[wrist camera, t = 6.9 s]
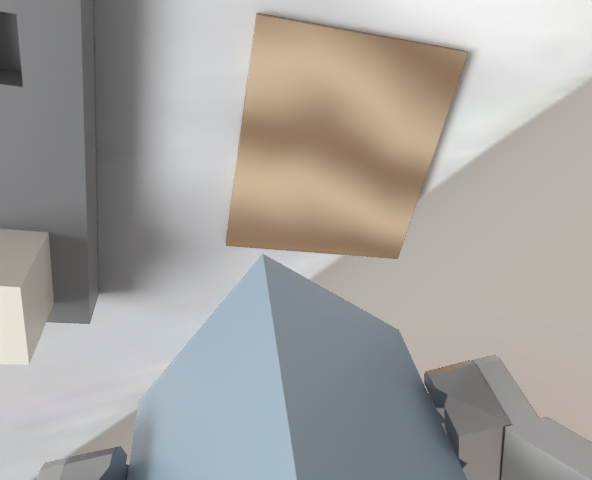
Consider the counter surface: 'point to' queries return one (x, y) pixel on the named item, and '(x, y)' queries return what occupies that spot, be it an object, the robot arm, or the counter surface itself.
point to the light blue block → (290, 394)
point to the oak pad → (336, 137)
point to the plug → (23, 293)
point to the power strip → (52, 141)
